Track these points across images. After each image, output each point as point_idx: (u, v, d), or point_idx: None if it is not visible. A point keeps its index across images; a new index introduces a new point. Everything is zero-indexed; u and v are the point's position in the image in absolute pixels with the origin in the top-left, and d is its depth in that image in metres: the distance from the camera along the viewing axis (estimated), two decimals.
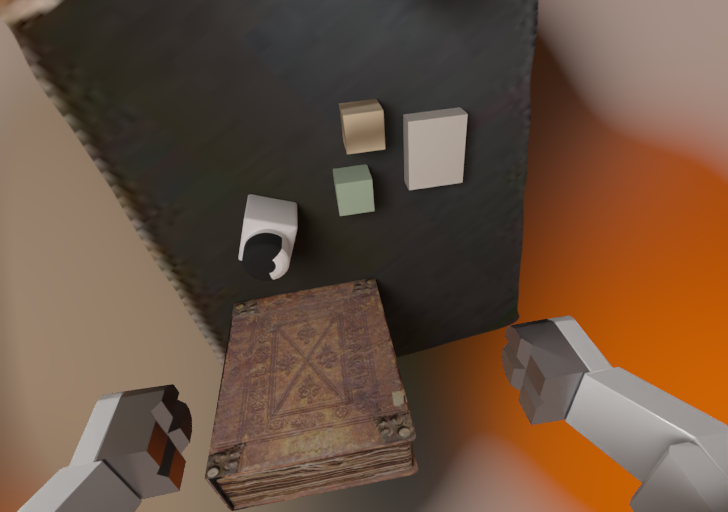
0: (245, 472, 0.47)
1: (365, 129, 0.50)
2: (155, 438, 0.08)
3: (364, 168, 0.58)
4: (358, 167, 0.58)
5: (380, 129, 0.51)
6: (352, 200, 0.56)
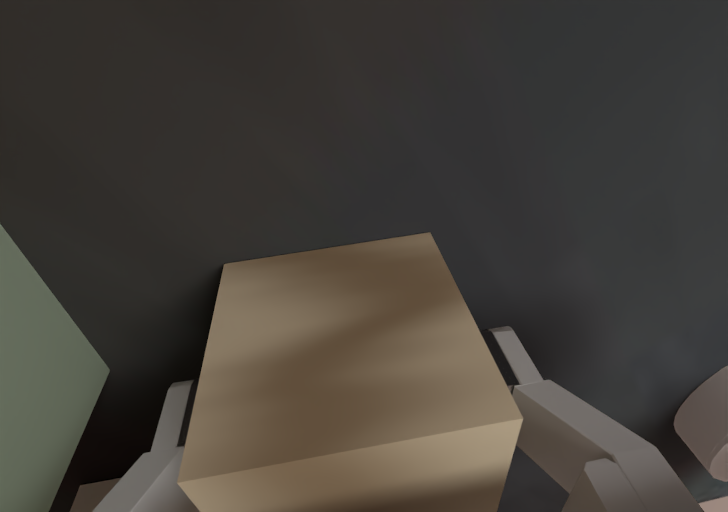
0: None
1: None
2: None
3: (81, 398, 0.10)
4: (75, 358, 0.10)
5: None
6: None
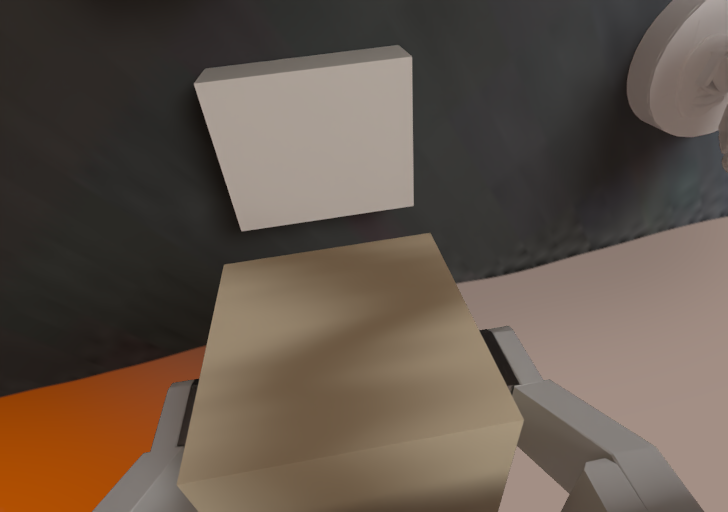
0: None
1: None
2: None
3: None
4: None
5: None
6: None
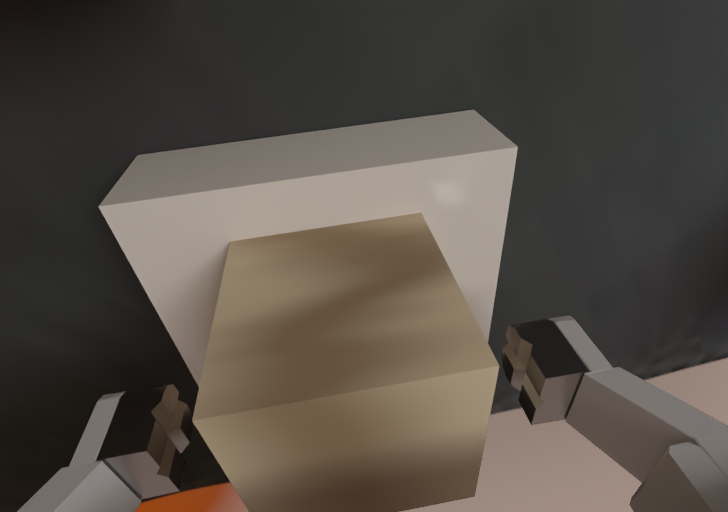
0: None
1: (383, 464, 0.08)
2: (155, 438, 0.08)
3: None
4: None
5: (377, 507, 0.09)
6: None
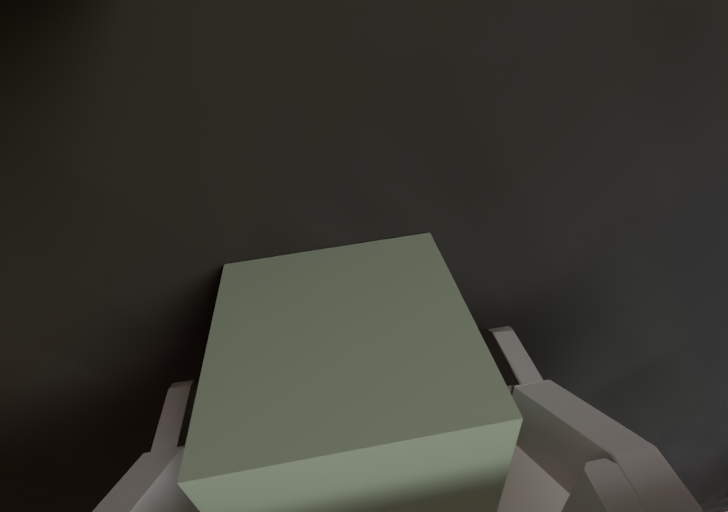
0: None
1: None
2: None
3: None
4: None
5: None
6: (354, 511, 0.07)
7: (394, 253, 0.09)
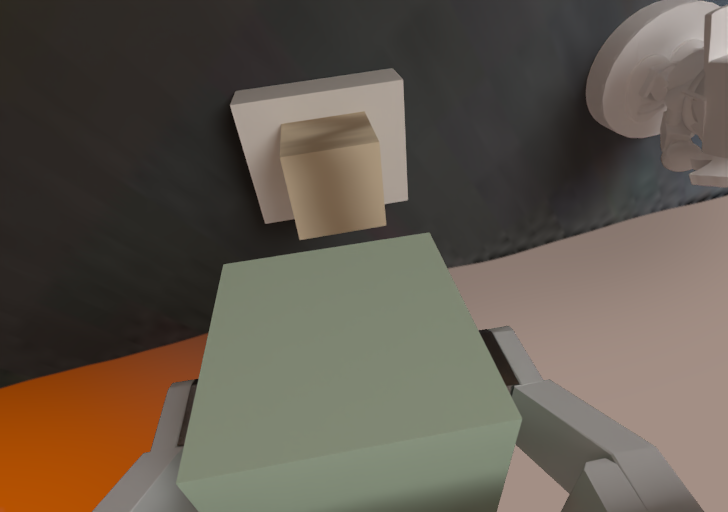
0: None
1: (344, 193, 0.22)
2: None
3: None
4: None
5: (345, 225, 0.23)
6: None
7: (393, 253, 0.09)
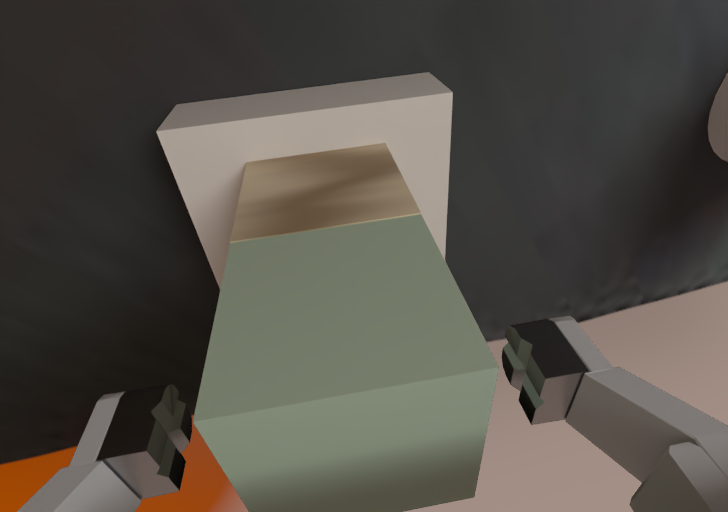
0: None
1: None
2: (155, 438, 0.08)
3: None
4: None
5: None
6: (349, 459, 0.08)
7: (387, 232, 0.10)
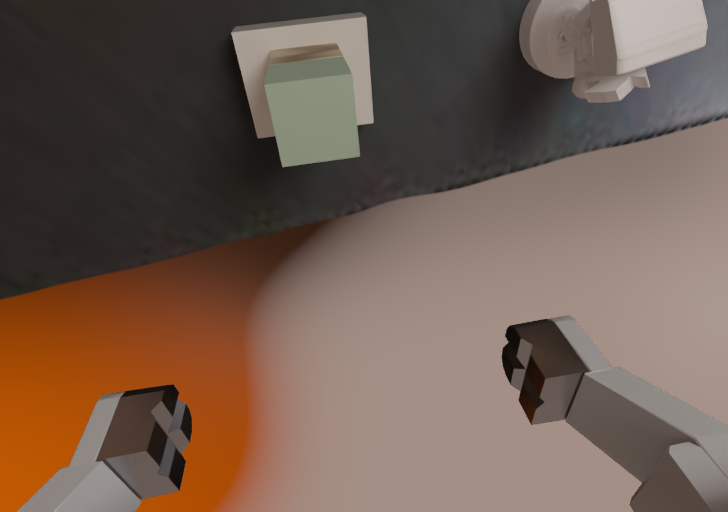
0: None
1: None
2: (155, 438, 0.08)
3: None
4: None
5: None
6: (310, 116, 0.24)
7: (328, 59, 0.26)
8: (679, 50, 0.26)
